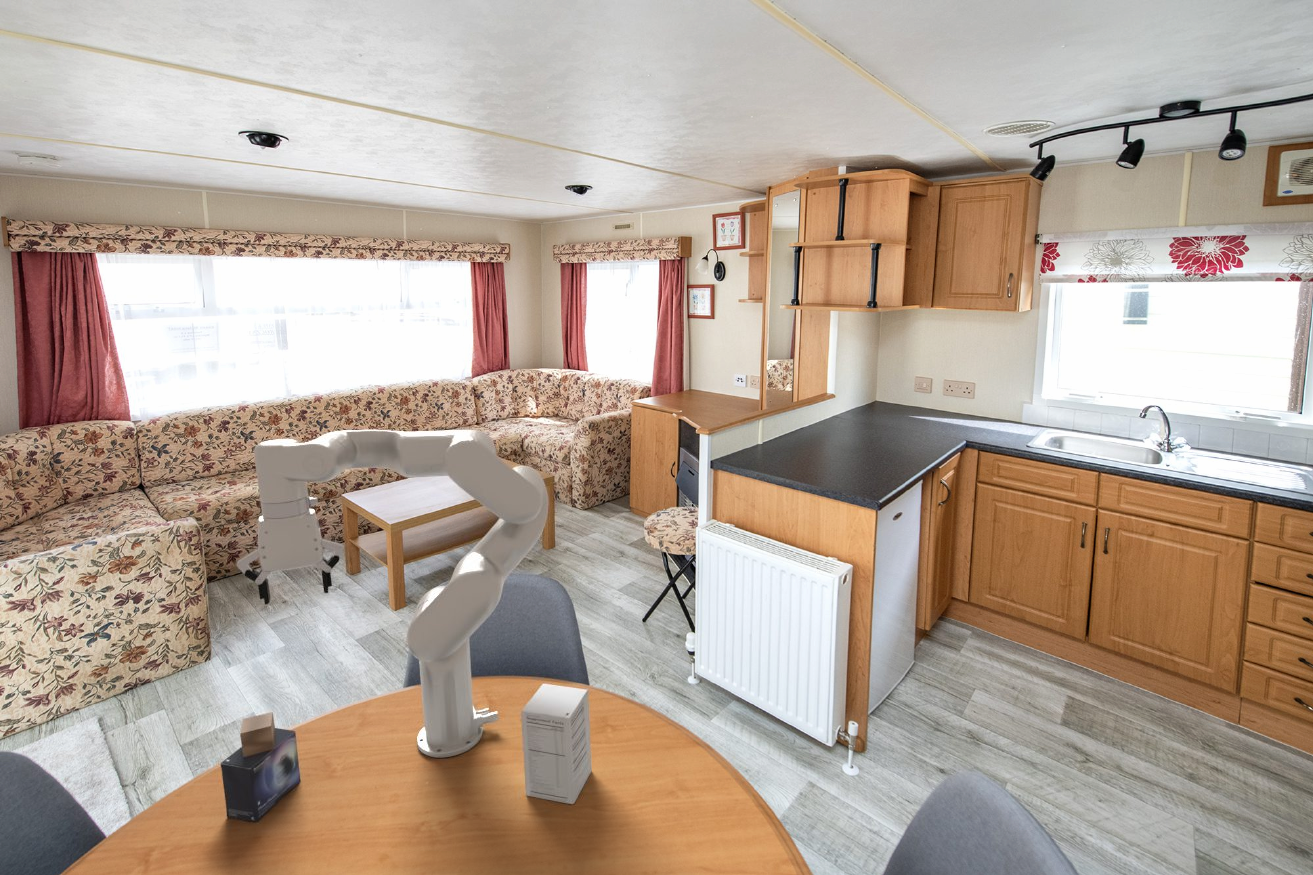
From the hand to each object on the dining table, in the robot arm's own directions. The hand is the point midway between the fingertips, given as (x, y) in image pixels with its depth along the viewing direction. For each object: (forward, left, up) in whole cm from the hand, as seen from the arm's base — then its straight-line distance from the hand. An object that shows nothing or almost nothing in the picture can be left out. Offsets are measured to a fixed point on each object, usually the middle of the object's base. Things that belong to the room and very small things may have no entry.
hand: (297, 595), depth 121 cm
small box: (+8, +10, -33) cm, 35 cm away
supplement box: (-40, +29, -33) cm, 60 cm away
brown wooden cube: (+7, +10, -22) cm, 25 cm away
